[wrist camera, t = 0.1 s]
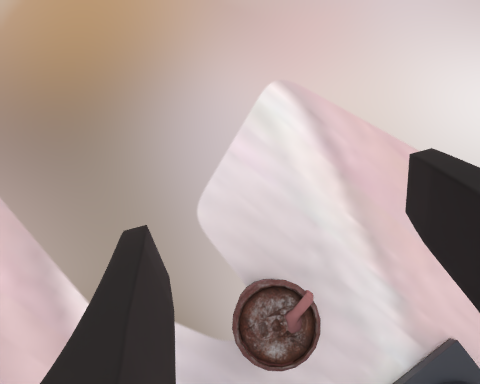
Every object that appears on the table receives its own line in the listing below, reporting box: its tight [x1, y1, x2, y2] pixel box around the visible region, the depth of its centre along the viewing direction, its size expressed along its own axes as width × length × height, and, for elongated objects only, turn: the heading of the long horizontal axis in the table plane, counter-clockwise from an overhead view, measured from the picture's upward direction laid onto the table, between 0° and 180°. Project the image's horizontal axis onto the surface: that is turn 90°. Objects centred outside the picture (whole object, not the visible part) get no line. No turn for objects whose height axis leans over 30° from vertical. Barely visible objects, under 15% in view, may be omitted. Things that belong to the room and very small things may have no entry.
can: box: [232, 279, 320, 371], centre depth 35 cm, size 6×6×14 cm
